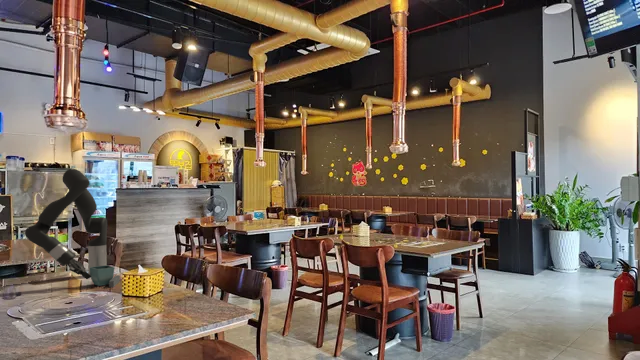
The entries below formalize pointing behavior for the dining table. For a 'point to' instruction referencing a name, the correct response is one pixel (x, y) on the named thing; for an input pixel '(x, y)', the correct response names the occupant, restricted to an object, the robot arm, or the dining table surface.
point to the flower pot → (101, 274)
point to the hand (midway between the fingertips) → (89, 277)
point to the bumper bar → (114, 281)
